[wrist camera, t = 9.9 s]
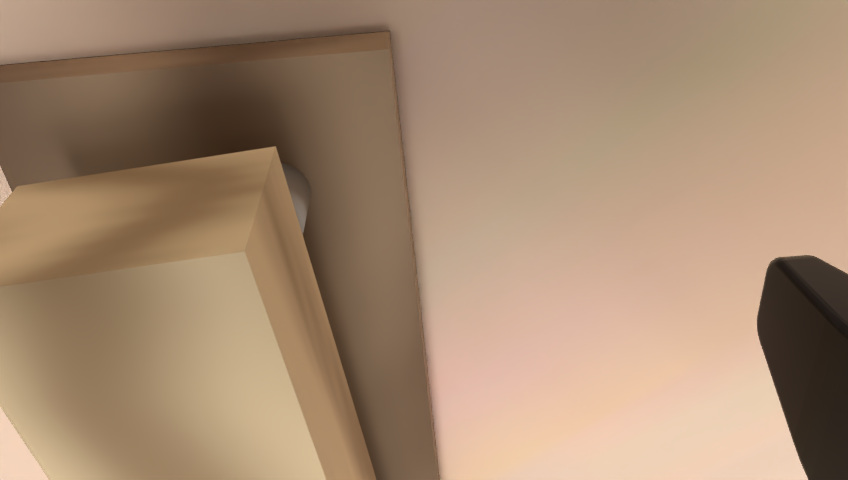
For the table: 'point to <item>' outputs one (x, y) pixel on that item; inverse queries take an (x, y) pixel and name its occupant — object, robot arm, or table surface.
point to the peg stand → (304, 171)
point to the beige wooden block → (171, 328)
